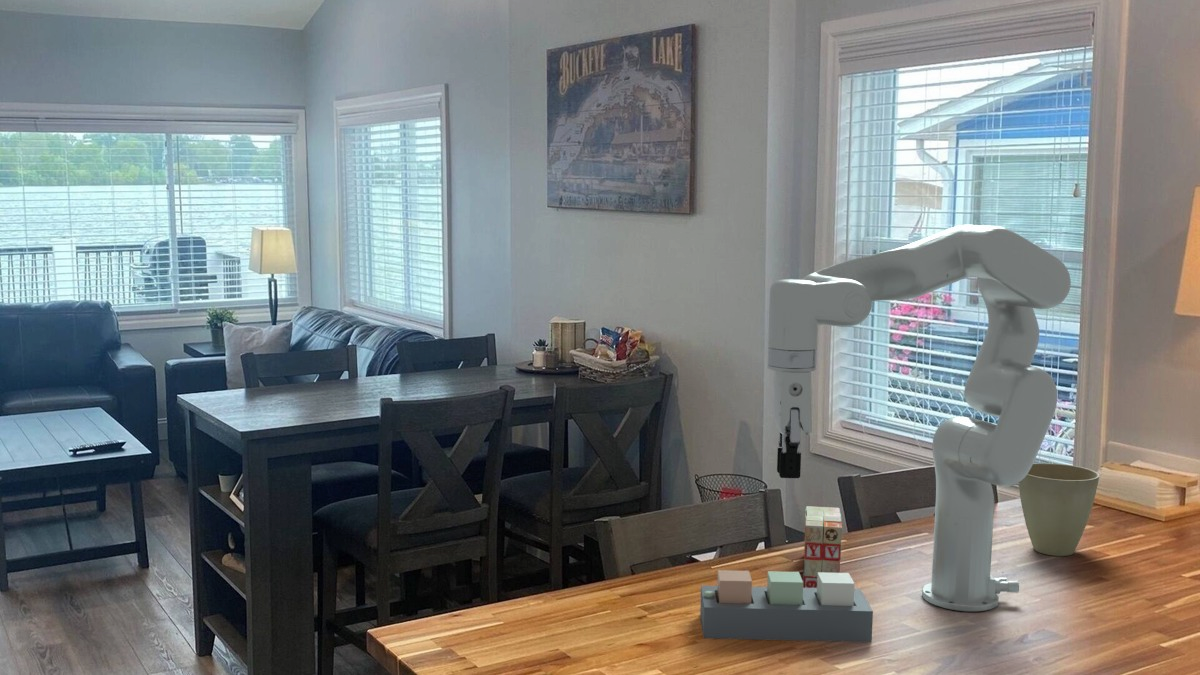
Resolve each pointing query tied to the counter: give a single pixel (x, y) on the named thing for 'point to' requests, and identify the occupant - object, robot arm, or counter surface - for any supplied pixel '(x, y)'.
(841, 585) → the key cream
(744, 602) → the beige cube
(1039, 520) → the plant pot
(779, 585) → the key sage
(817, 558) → the stack of blocks
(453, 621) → the counter surface
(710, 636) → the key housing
